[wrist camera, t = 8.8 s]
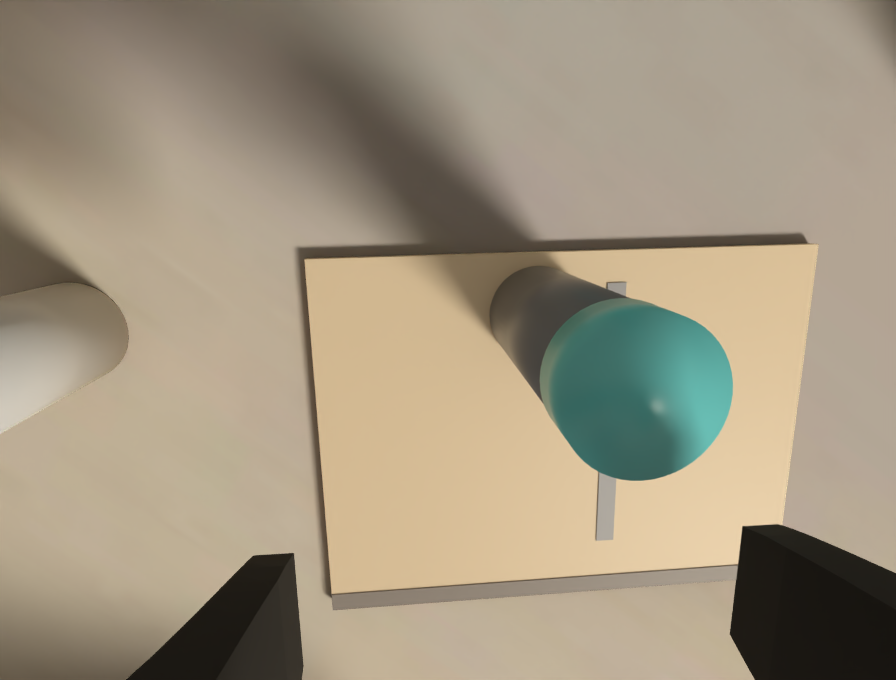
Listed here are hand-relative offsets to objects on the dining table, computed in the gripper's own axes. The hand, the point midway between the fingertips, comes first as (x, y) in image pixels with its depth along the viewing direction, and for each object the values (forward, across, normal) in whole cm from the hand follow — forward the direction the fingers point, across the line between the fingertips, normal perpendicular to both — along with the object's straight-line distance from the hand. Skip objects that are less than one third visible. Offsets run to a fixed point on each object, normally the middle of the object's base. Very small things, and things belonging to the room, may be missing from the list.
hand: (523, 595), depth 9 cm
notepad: (+10, -3, +1) cm, 10 cm away
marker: (+9, -2, -3) cm, 10 cm away
